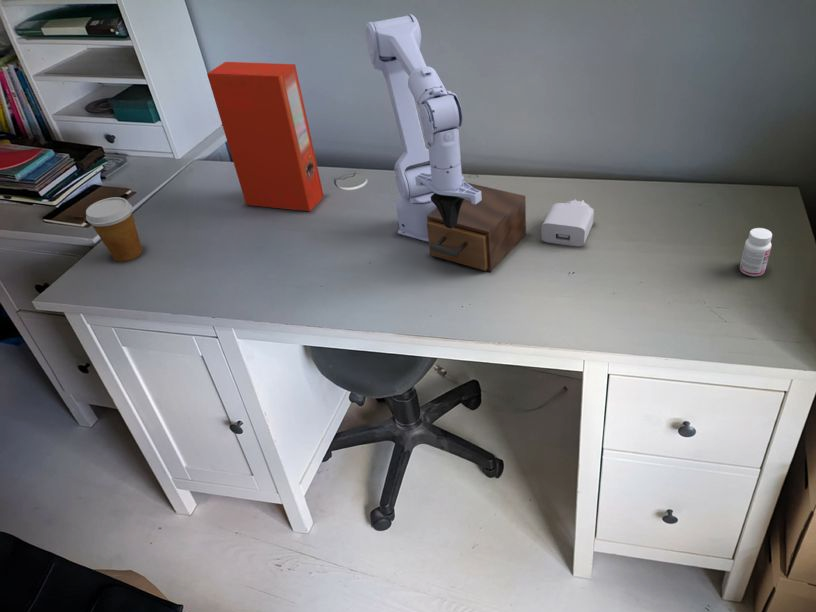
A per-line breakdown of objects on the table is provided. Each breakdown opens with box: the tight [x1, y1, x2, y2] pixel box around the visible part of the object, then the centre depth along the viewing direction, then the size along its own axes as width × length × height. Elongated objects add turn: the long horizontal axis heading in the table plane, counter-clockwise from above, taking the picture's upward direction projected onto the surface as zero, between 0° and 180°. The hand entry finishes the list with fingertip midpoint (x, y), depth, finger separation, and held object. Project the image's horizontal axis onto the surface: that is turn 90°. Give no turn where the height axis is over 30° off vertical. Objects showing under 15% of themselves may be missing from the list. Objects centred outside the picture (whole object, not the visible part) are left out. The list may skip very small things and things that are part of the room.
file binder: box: [206, 61, 324, 212], centre depth 163 cm, size 8×17×32 cm, turn 73°
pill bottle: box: [739, 227, 773, 277], centre depth 136 cm, size 5×5×8 cm
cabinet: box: [427, 182, 527, 273], centre depth 149 cm, size 16×15×10 cm
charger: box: [541, 198, 595, 247], centre depth 154 cm, size 5×9×15 cm
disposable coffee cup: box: [85, 196, 143, 263], centre depth 155 cm, size 10×10×12 cm
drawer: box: [427, 221, 488, 272], centre depth 146 cm, size 19×13×8 cm
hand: (451, 225), depth 139 cm, fingers closed
